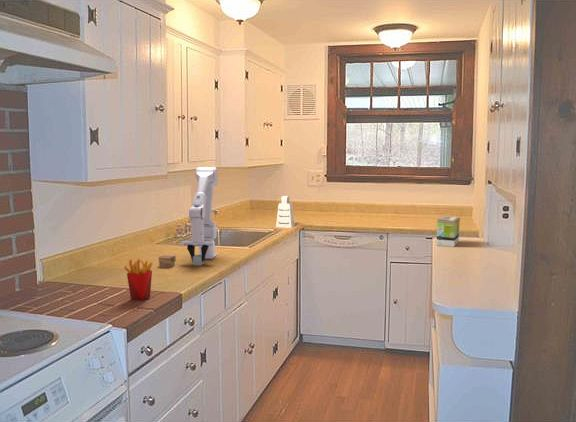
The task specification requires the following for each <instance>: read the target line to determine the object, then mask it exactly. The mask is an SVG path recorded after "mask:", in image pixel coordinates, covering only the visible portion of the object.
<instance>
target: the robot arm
mask: <svg viewBox="0 0 576 422" xmlns="http://www.w3.org/2000/svg"><path fill="white" fill-rule="evenodd" d="M195 169H196V170H195V178H196V181H197V182H198V184H197V191H196V193H195V194H194V196H193V201H192V205H191V207H189V210H188V216H189V223H190V229H191V230H190V231H191V232H190V233H191V236H190V237H191V240H183V241H181V247H182V246H183V247H186V249H187V251H188V253H189V255H190V258H191V262H192V263H193V256H194V255H196V254H195V253H196V252H195V249H196V247H198V255H202V262H204V263H205V259H208V260H209V259H211V260H213V259H214V258H215V257H216V256H217V255H218V254H217V253H216V246H215V245H216V243H215V241H214V240H215V239H216V238H217V236H218V235H217V234H218V229H217V223H216V222H215V221H214V220H213V219H212V216H213V215H212V214H213V211H212V210H213V195H214V188H215V186H217V185H218V175H219V173H218V168H217V167H215V166H214V167H199V166H198V167H197V168H195Z"/></svg>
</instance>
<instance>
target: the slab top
mask: <svg viewBox="0 0 576 422" xmlns="http://www.w3.org/2000/svg"><path fill="white" fill-rule="evenodd" d="M176 258H177V255H176V254H173V255H172V254H163V255H160V256H158V264H159V263H172V262H174V261H175V262H176Z"/></svg>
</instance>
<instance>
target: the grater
mask: <svg viewBox="0 0 576 422" xmlns="http://www.w3.org/2000/svg"><path fill="white" fill-rule="evenodd" d="M293 206H294V205H293V202H291V201H290V195H282V196H281V202H278V205H277V215H276V223H275V228H287V229H289V228H290V229H292V228H293V227H295V226H296V223H295V215H294V207H293Z"/></svg>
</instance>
